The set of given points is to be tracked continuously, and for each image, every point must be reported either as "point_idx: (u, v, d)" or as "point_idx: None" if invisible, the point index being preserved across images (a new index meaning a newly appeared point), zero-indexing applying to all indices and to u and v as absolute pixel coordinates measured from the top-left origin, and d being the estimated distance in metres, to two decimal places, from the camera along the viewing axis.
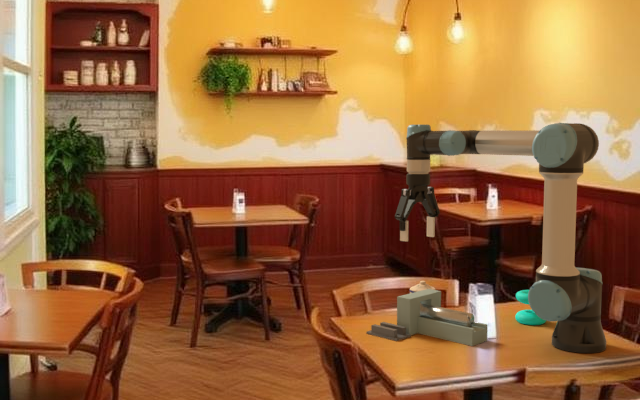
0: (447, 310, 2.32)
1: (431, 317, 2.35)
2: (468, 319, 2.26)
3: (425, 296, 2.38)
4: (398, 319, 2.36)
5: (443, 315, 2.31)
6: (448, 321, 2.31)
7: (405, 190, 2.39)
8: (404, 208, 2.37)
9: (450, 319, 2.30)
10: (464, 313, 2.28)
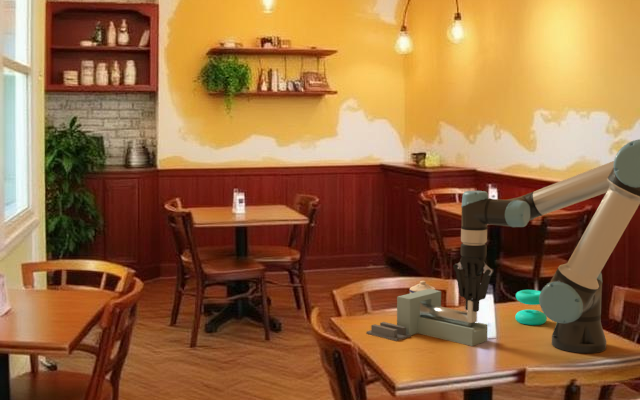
0: (449, 309, 2.33)
1: (432, 315, 2.35)
2: None
3: (425, 296, 2.38)
4: (398, 319, 2.36)
5: (445, 312, 2.32)
6: (449, 319, 2.31)
7: None
8: (459, 284, 2.27)
9: (451, 316, 2.30)
10: (466, 312, 2.29)
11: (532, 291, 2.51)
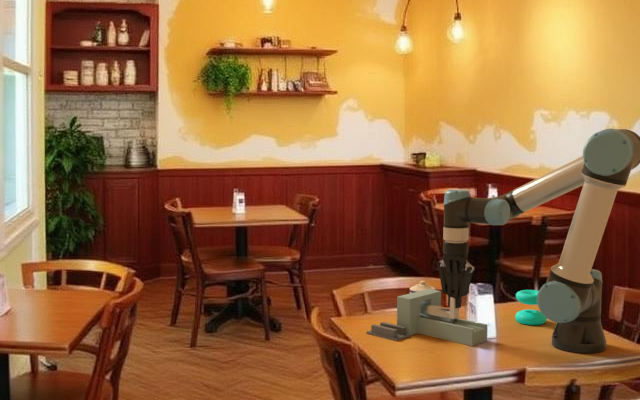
0: (433, 305, 2.37)
1: None
2: None
3: (425, 296, 2.38)
4: (398, 319, 2.36)
5: (428, 309, 2.36)
6: (432, 315, 2.35)
7: None
8: (442, 281, 2.32)
9: (434, 313, 2.35)
10: (449, 308, 2.33)
11: (532, 291, 2.51)
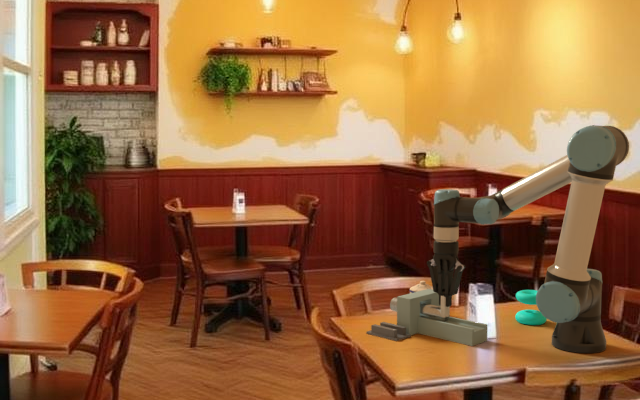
0: (424, 304, 2.39)
1: None
2: None
3: (425, 296, 2.38)
4: (398, 319, 2.36)
5: (420, 307, 2.39)
6: (423, 313, 2.38)
7: None
8: (432, 280, 2.34)
9: (425, 311, 2.37)
10: (440, 307, 2.35)
11: (532, 291, 2.51)
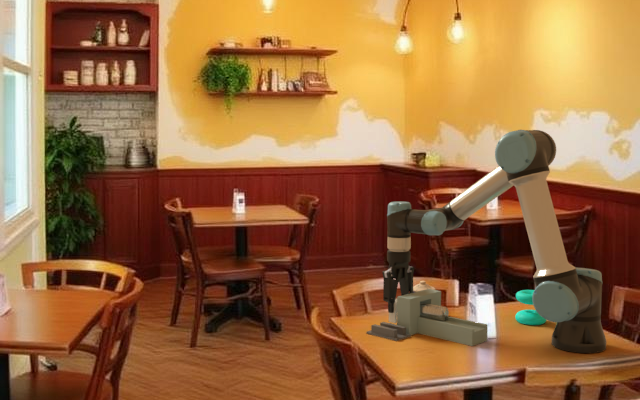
0: (423, 304, 2.39)
1: None
2: (442, 312, 2.34)
3: (425, 296, 2.38)
4: (398, 319, 2.36)
5: None
6: (423, 314, 2.38)
7: (386, 273, 2.41)
8: (390, 291, 2.41)
9: (425, 311, 2.37)
10: (439, 306, 2.35)
11: (532, 291, 2.51)
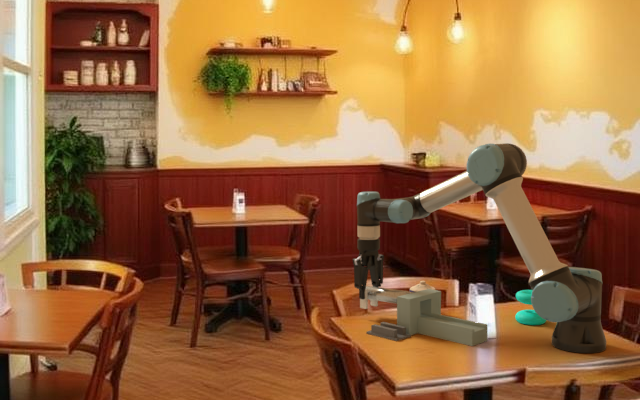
0: (391, 290, 2.48)
1: (376, 297, 2.50)
2: None
3: (425, 296, 2.38)
4: (398, 319, 2.36)
5: (387, 294, 2.47)
6: (391, 299, 2.46)
7: (356, 261, 2.49)
8: (360, 277, 2.50)
9: (393, 297, 2.45)
10: (406, 291, 2.44)
11: None
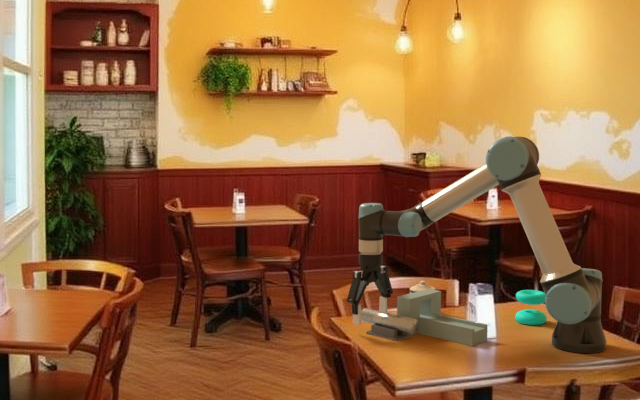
0: (394, 315, 2.32)
1: (377, 322, 2.34)
2: (412, 325, 2.26)
3: (425, 296, 2.38)
4: None
5: (389, 319, 2.31)
6: (393, 326, 2.30)
7: (356, 273, 2.33)
8: (356, 292, 2.32)
9: (395, 323, 2.29)
10: (410, 318, 2.28)
11: (533, 291, 2.51)
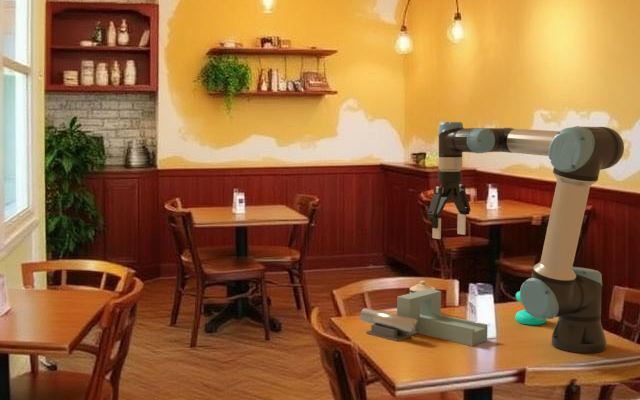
0: (394, 315, 2.32)
1: (377, 322, 2.34)
2: (412, 325, 2.26)
3: (425, 296, 2.38)
4: None
5: (389, 319, 2.31)
6: (393, 326, 2.30)
7: (438, 187, 2.39)
8: (437, 205, 2.37)
9: (395, 323, 2.29)
10: (410, 318, 2.28)
11: None
